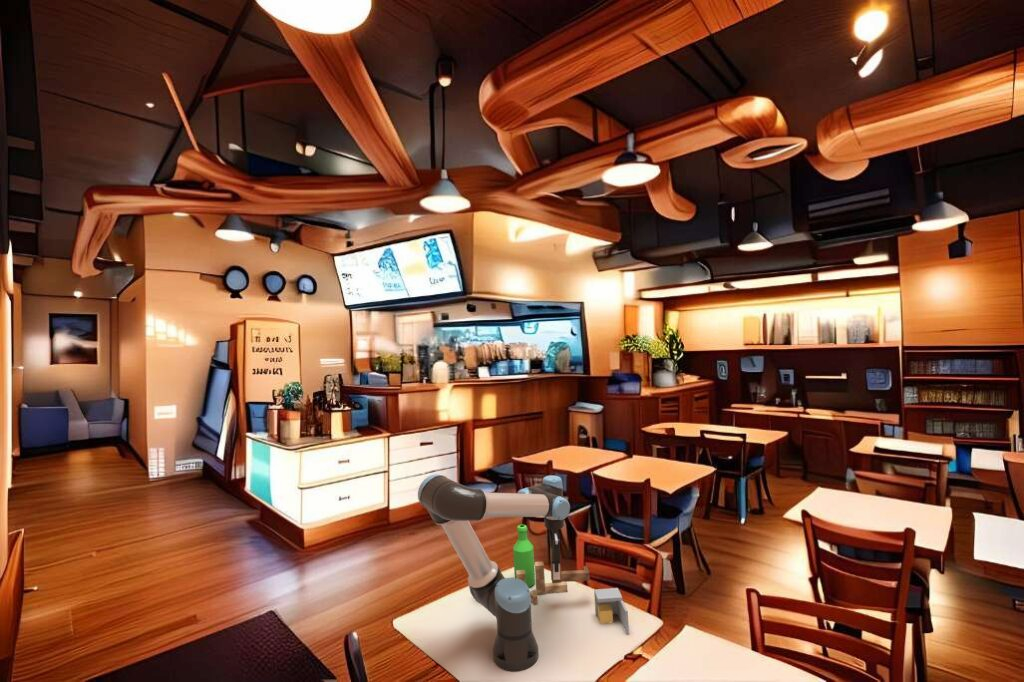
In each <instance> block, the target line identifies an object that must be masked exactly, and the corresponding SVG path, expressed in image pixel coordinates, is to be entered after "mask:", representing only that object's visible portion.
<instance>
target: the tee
mask: <svg viewBox="0 0 1024 682" xmlns="http://www.w3.org/2000/svg"><path fill="white" fill-rule="evenodd" d="M516 575H517V579H520V580H522V581H523V582H525V583H526V576H525V570H516ZM530 597H531V604H533V605H535V606H536V605H538V604H539V600H538V595H537V591H536V589H534V590H532V591H530Z"/></svg>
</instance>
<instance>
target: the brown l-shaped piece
mask: <svg viewBox="0 0 1024 682" xmlns="http://www.w3.org/2000/svg"><path fill="white" fill-rule="evenodd" d="M549 549H550V550H549V551H550V554H549V555H550V557H549V558H550V577H551V578H550V580H551V583H561V582H566V583H568V582H570V583H571V582H585V581H587V582H588V581H590V577H591V575H590V571H589V568H588V566H587V565H583V566H582V569H581V570H579V569H578V570H562V568H561V567H562V565H561V563H560V580H553V564H551V562H552V561H553V550H552V548H549ZM560 561H561V559H560Z"/></svg>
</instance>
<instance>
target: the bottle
mask: <svg viewBox="0 0 1024 682" xmlns="http://www.w3.org/2000/svg"><path fill="white" fill-rule="evenodd" d="M516 526H517V527H516V531H517V538H518V539H517V540H516V542H515V544H514V545H513V546H512V553H513V569H514V579H517V575H516V570H525V576H526V584H527V586H528V588H531V587H532V586H534V585H535V584H536V577H535V554H534V553H535V552H534V551H535V550H534V545H533V544H532V542H531V541H530V540H529V539H528V527H527V525H526V524H519V525H516Z"/></svg>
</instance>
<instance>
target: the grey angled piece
mask: <svg viewBox="0 0 1024 682" xmlns="http://www.w3.org/2000/svg"><path fill="white" fill-rule="evenodd" d="M593 592H594V611H595V616H597V615H598V605H601V604H610V606H611V608H612V611H613V615H617V617H618V618H619V620H620V623H621V625H622V627H623V629H625V630H624V631H625V634H626V635H630V631H629V630H630V629H629V613H628V611H629V610H628V608H627V607H626V605H625V602H624V601H623V596H622V593H621V591H620V589H619V588H618V587H611V588H599V589H594V590H593Z"/></svg>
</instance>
